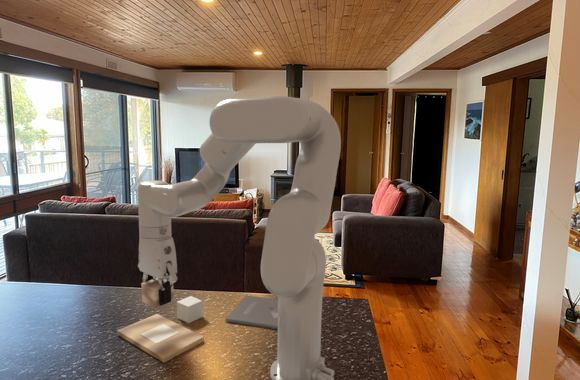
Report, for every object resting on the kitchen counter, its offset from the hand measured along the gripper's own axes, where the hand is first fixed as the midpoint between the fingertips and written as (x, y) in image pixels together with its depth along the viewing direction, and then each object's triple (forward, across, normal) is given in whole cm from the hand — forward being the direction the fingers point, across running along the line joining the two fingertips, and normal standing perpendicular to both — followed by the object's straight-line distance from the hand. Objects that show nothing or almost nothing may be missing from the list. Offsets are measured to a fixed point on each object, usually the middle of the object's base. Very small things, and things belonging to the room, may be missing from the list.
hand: (157, 299), depth 103 cm
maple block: (+1, 0, 0) cm, 1 cm away
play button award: (+11, -13, -28) cm, 33 cm away
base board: (+11, 0, 0) cm, 11 cm away
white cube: (+11, +3, -12) cm, 16 cm away
